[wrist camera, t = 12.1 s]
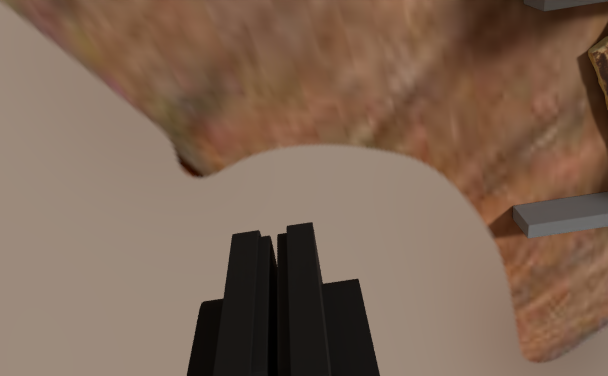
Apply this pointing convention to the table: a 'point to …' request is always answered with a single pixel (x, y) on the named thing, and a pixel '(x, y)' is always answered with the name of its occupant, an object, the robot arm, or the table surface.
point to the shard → (601, 64)
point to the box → (566, 210)
